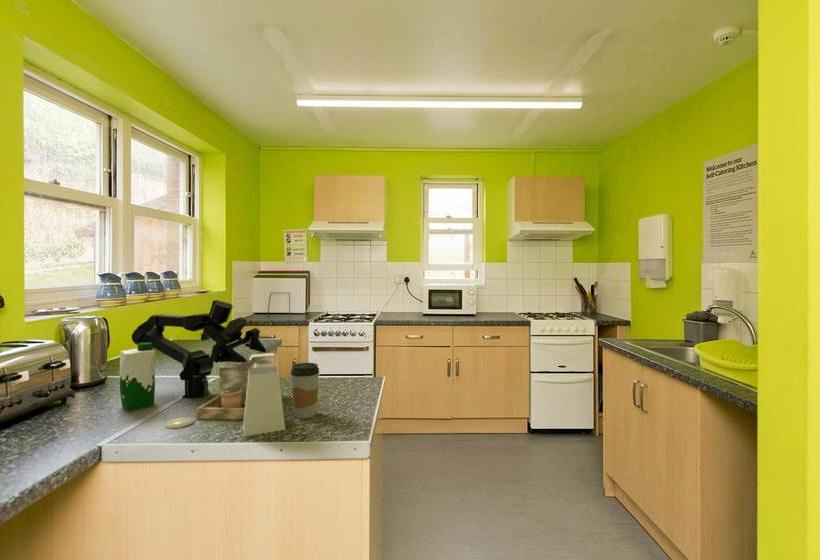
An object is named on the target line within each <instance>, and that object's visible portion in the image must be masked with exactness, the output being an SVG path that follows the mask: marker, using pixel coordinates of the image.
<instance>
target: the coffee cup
mask: <svg viewBox="0 0 820 560" xmlns="http://www.w3.org/2000/svg"><path fill="white" fill-rule="evenodd" d="M318 366H319V365H318V363H315V362H302V363H301V362H300V363H299V362H298V363H296V364H293V365H292V366H291V367H292V368H291V369H290V375H291V386H292V388H291V390H292V391H291V392H292V404H293V405H292V406H293V414H294V417H295V418H296V417H297V419H300V418H301V420H302V419H304V420H305V419H311V418H313V417H315V416H314V415H316V413H317V404H318V393H319V387H318V385H319V373H320V368H319V367H318ZM310 417H311V418H310Z"/></svg>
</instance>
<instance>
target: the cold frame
mask: <svg viewBox="0 0 820 560" xmlns="http://www.w3.org/2000/svg"><path fill="white" fill-rule="evenodd" d="M250 368H251V367H220V368H219V369H218V370H219V373H218V374H219V392H220V391H221V390H223V389H227V388H233V387H238V388H242V389H243V393H242V405H245V401H246V392H247V383H248V373H249V369H250ZM218 406H219V407H218ZM244 411H245V407H242V408H221V395H220V394H219V395H216V396H215V397H213V398H211V399H210V400H208V401H206V402H205V403H203V404H202V405H200V406H198V407H197V408H196V419H197V420H203V419H205V420H244Z"/></svg>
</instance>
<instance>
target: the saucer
mask: <svg viewBox="0 0 820 560" xmlns="http://www.w3.org/2000/svg"><path fill="white" fill-rule="evenodd" d="M193 422H194V423H195V418H193V417H190V416H185V417H184V416H183V417H176V418H172V419H170V420H167V421H166V422H165V424H164V425H165V426H164V427H165V428H166V429H181V428H185V426H186V427H189V426H191V425H193V424H194V423H193ZM192 423H193V424H192ZM190 424H191V425H190ZM188 425H189V426H188Z"/></svg>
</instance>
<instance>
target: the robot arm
mask: <svg viewBox="0 0 820 560" xmlns="http://www.w3.org/2000/svg"><path fill="white" fill-rule="evenodd" d="M233 307H234V306H233V305H232V304H231V303H229V302H225V301H221V300H218V299H214V300H212V303H211V306H210V310H209V313H207V312H206V313H205V312H204V313H197V314H196V313H195V314H190V315H179V314H164V313H161V314H160V313H159V314H151V316H149V317H148V319H147V320H146V321H144V322H143V323H141V324H139V326H137V328H136V329H135V330H133V332H132V334H131V339H132V342H133V344H135V345H137V346H138V344H139V343H145V342H152V343H153V347H152V348H153V350H155V351H156V350H157V351H158V352H160V353H162V354H163V355H165V356H167V357H169V358H170V359H172V360H174V361H176V362H178V363H180V364H181V366H182V370H181V371H180V373H179V374H178V375H179V378H180V381H184V394H182V395H181V397H182V398H193V399H194V398H196V399H198V398H202V397H203V396H206V395H208V394H209V393H210V390H209V380H208V376H211V375H212V370H213V368H214V363H215V364H217V363H246V362H247V359H246V358H245V357H244V356H243V355H241V354H240V353H238V352H237V351H236V349H238V348H240V347H242V346H245V347H247V348H248V349H250V350H253V351H257V352H259V353H267V349H266V348H265V346H264V344H262V342H261V341H260V339H259V337H260V333H261V330H260V329H258V328H256V327H255V328H252V329H250V330H247V331H245V335H244V337H241V336H242V335H243V331H242V330H243V329H244V328H245V327H246V325H247V324H248V320H246V318H244V317H242V316H239V317H237V318H235V319H231V320H230V321H228V320H229V318H230V315H231V313H232V310H233ZM227 322H228V323H227ZM224 323H227V325H226V326H224V325H223V324H224ZM166 327H175V328H176V327H177V328H183V329H184V330H186V331H189V332H200V331H202V332H201V333H200V340H201V342H205V341H209V340H211V341H213V342H215V344H213V345H212V348H211V353H206V352H205V351H203V350H201V349H199V350H195V351H190V350H188V349H186V348H185V347H183V346H181V345H179V344H178V343H176V342H174V341H172V340H170V339H168V338H166V337H165V336H164V332H165V328H166Z"/></svg>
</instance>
